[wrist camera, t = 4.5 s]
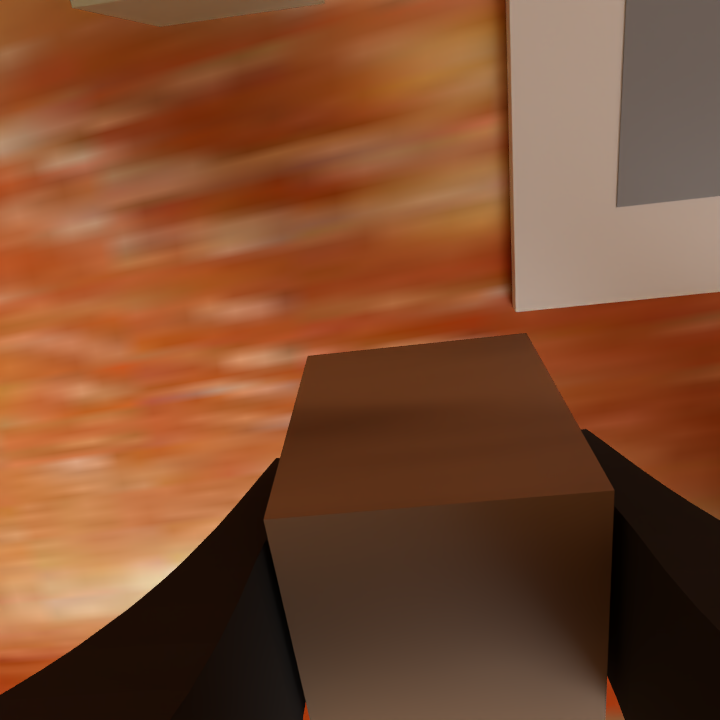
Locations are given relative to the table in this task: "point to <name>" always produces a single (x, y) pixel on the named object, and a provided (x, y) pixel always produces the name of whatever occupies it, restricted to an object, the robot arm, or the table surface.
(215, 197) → the table surface
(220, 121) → the table surface
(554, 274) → the white flat square plate
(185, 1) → the sage block
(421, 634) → the walnut block
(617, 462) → the robot arm
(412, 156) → the table surface
